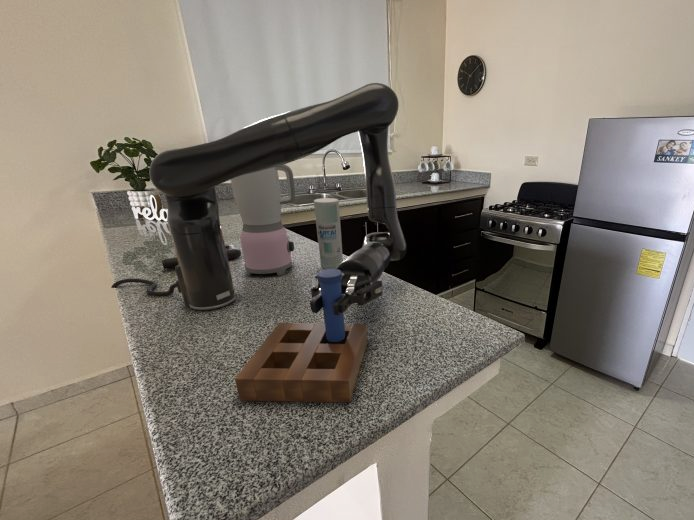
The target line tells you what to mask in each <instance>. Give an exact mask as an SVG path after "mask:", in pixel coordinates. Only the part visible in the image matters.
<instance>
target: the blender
mask: <svg viewBox="0 0 694 520" xmlns="http://www.w3.org/2000/svg"><path fill="white" fill-rule="evenodd" d="M278 171H282V172H283V173H285V176H286V184H287V193H288V196H286V197H282V192H281V184H280V177H279V172H278ZM230 183H231V188H232V193H233V199H234V202H235V204H236V207H237V210H238V213H239V216H240V218H241V222H242V230H241V232H240V245H241V252H242V255H243V261H244V269H245V272H246V275H247V276H252V274H257V275H265V274H266V275H267V274H274V273H276V276H283V275H285V274H286V270H287V269H289V268H291V267H292V265H293V260H292V254H291V252H294V251H295V244H294V241H291V240H290V238H289V237H290V236H289V233H288V232H287V230H286V227H285V226H284V224H283V222H282V205H287V204H292V203H293V202H295V200H296V188H295V180H294V174H293V170H292V168H291V167H290V166H289V165H288V164H283V165H280V166H277V167H273V168H270V169H266V170H262V171H258V172H254V173H249V174H245V175H241V176H238V177H236V178H233V179H231V180H230Z"/></svg>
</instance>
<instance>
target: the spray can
mask: <svg viewBox="0 0 694 520" xmlns="http://www.w3.org/2000/svg"><path fill="white" fill-rule="evenodd" d="M313 208H314V216H315V217H314V218H315V225H316V226H315V227H316V234H317V243H318V251H319V253H318V254H319V262H320V269H321V270H320V271H322V270H325V269H337V268H338V267H339V265H340V264H341V263H342V262H343V261H344V256H343V243H342V242H343V241H342V228H341V215H340V214H341V213H340V200H339V199H338V198H335V197H334V198H333V197H331V198H330V197H322V198H316V199H314V200H313Z"/></svg>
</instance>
